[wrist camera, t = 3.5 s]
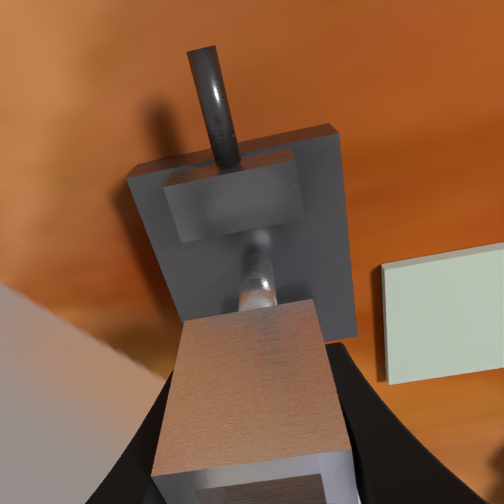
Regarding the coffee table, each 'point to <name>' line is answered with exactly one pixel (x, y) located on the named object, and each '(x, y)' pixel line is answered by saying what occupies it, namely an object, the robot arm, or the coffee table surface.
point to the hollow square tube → (254, 414)
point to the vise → (249, 217)
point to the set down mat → (444, 314)
